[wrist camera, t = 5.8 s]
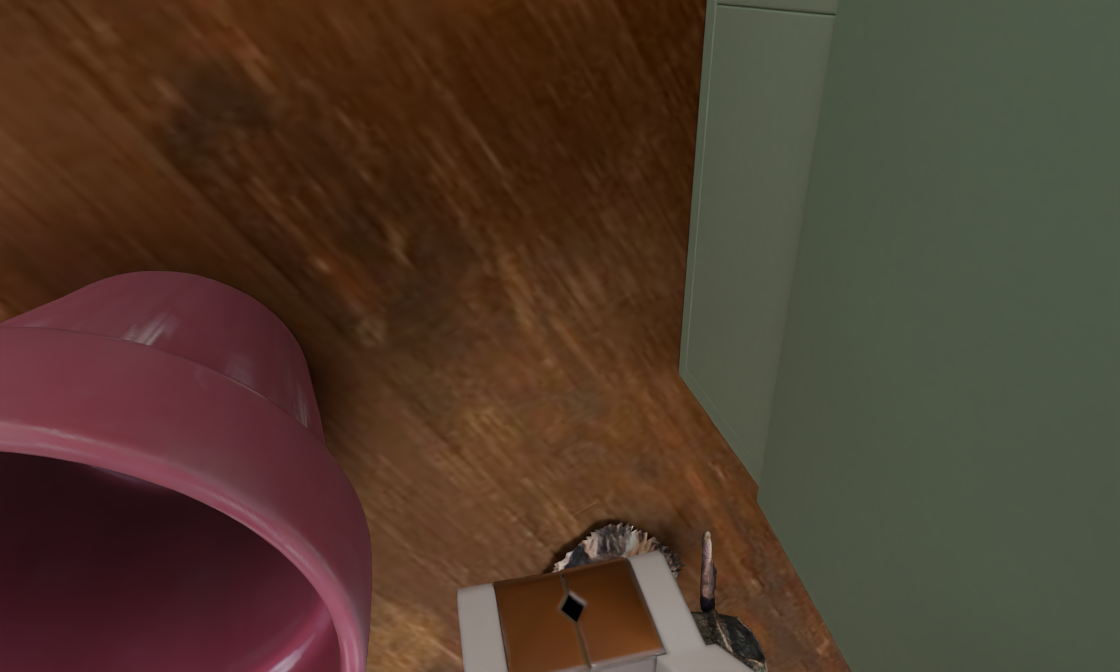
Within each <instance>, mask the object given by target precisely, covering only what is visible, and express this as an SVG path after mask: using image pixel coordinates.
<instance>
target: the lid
mask: <svg viewBox="0 0 1120 672" xmlns="http://www.w3.org/2000/svg"><path fill="white" fill-rule="evenodd" d="M757 503H758V504H759V506H760V508H761V510H762V512H763V513H764V515H765V517H766V519H767V521H768V522H769V524H770V526H771V528H772V530H773V531H774V533H775V535H776V537H777V539H778V540H779V542H780V544H781V546H782V548H783V549H784V551H785V553H786V555H787V556H788V558H789V560H790V562H791V564H792V565H793V567H794V569H795V571H796V573H797V574H798V576H799V578H800V580H801V582H802V583H803V585H804V587H805V589H806V591H807V592H808V594H809V596H810V598H811V600H812V601H813V603H814V605H815V607H816V609H817V610H818V612H819V614H820V616H821V617H822V619H823V621H824V623H825V625H826V626H827V628H828V630H829V632H830V634H831V635H832V637H833V639H834V641H835V643H836V644H837V646H838V648H839V650H840V652H841V653H842V655H843V657H844V659H845V661H846V662H847V664H848V666H849V668H850V670H851V671H852V672H1120V0H838V5H837V11H836V17H835V23H834V29H833V35H832V42H831V48H830V54H829V60H828V66H827V72H826V78H825V85H824V91H823V97H822V103H821V109H820V115H819V121H818V127H817V134H816V140H815V146H814V152H813V158H812V164H811V170H810V176H809V183H808V189H807V195H806V201H805V207H804V213H803V219H802V225H801V232H800V238H799V244H798V250H797V256H796V262H795V268H794V275H793V281H792V287H791V293H790V299H789V305H788V311H787V317H786V324H785V330H784V336H783V342H782V348H781V354H780V360H779V366H778V373H777V379H776V385H775V391H774V397H773V403H772V409H771V415H770V422H769V428H768V434H767V440H766V446H765V452H764V458H763V465H762V471H761V477H760V483H759V489H758V495H757Z"/></svg>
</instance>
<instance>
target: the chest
mask: <svg viewBox="0 0 1120 672" xmlns="http://www.w3.org/2000/svg"><path fill="white" fill-rule="evenodd" d="M837 5H838V0H707V7H706V20H705V33H704V46H703V59H702V73H701V86H700V99H699V112H698V125H697V138H696V151H695V164H694V177H693V190H692V203H691V216H690V229H689V242H688V255H687V269H686V282H685V295H684V308H683V321H682V334H681V347H680V360H679V375H680V376H681V378H682V379H683V381H684V382H685V383H686V385H687V386H688V388H689V389H690V391H691V392H692V393H693V395H694V396H695V398H696V399H697V400H698V402H699V403H700V405H701V406H702V407H703V409H704V410H705V412H706V413H707V414H708V416H709V417H710V419H711V420H712V422H713V423H714V424H715V426H716V427H717V429H718V430H719V431H720V433H721V434H722V436H723V437H724V438H725V440H726V441H727V443H728V444H729V445H730V447H731V448H732V450H733V451H734V452H735V454H736V455H737V457H738V458H739V460H740V461H741V462H742V464H743V465H744V467H745V468H746V469H747V471H748V472H749V474H750V475H751V476H752V478H753V479H754V481H755V482H756V483H757V485H758V486H759V483H760V477H761V471H762V465H763V458H764V452H765V446H766V440H767V434H768V428H769V422H770V415H771V409H772V403H773V397H774V391H775V385H776V379H777V373H778V366H779V360H780V354H781V348H782V342H783V336H784V330H785V324H786V317H787V311H788V305H789V299H790V293H791V287H792V281H793V275H794V268H795V262H796V256H797V250H798V244H799V238H800V232H801V225H802V219H803V213H804V207H805V201H806V195H807V189H808V183H809V176H810V170H811V164H812V158H813V152H814V146H815V140H816V134H817V127H818V121H819V115H820V109H821V103H822V97H823V91H824V85H825V78H826V72H827V66H828V60H829V54H830V48H831V42H832V35H833V29H834V23H835V17H836V11H837Z"/></svg>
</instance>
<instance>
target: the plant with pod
mask: <svg viewBox="0 0 1120 672" xmlns="http://www.w3.org/2000/svg"><path fill="white" fill-rule="evenodd" d="M632 528H633V526H630V527H629V523H628V524H627V525H626V526H624V527H623V524H622V523H620V524H618V525H616V526H615V525H611V524H609V525H607V526H604V528H603V529H601V528H600V530H596V529H595V532H596V533H595V532H591V535H592V537H586V538H587V539H588V540H582V541H583V542H581V543H580V544H578V547H576V548H574V549H573V551H572V552H568V553H566V557H565V559H564V560H562V561H560V562H557V563H556V564H555V566H556V567H554V568H553V569H555V570H554V571H553V572H557V571H560V570H562V569H567V568H571V567H576V566H581V565H586V564H591V563H596V562H600V561H605V560H610V559H615V558H620V557H624V558H626V557H628V556H633V555H638V554H643V553H649V552H654V551H659V552H660V553H662V554H663V555H664V557H665V559H666V561H667V563H668V566H669V568H670V570H671V572H672V574H673V576H674V578H676V577H677V576H679V573H678V571H680V570H682V569H678V567H681V566H685V565H683V564H680V558H677V557H676V556H677V555H678V554H679V553H674V554H673V549H672V550H671V551H670V552H669V549H668V546H662V544H661V543H660V542H658V541H657V540H656V538H655V537H652V538H651V539H649V540H647V532H645V533H642V532H641V530H640V531H638V532H637V529H636V530H635V531H633V532H631V531H632ZM710 535H711V534H710V532H704V535H703V539H702V566H701V585H700V592H701V596H700V605H701V610H702V611H703V612H691V614H692V616H693V619H694V621H695V623H696V625H697V627H698V629H699V631H700V633H701V636H702V638H703V640H704V642H705V644H706V645H711V644H717V645H719V646H720V647H722V648H723V649H724V650H726V651H727V652H728V653H730V654H731V655H733V656H734V657H735V658H737V659H738V660H740V661H741V662H742V663H744V664H745V665H746V666H748V667H749V668H751V669H752V670H753V671H755V672H768V670H767V663H766V658H765V653H764V652H763V651H762V649H761V645H760V643H759V641H758V640H757V638H756V636H755V635H754V634H753V632H752V630H751V629H750V628H749V627H748V626H745V624H744V623H743V622H742V621H741V619H739V618H738V617H732V616H728V615H723V614H718V612H717V611H716V610H715V598H714V590H715V589H716V586H715V583H716V573H717V570H716V568H715V567H714V563H713V557H712V543H711V539H710ZM676 581H677V580H676Z"/></svg>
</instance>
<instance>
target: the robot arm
mask: <svg viewBox="0 0 1120 672" xmlns="http://www.w3.org/2000/svg"><path fill="white" fill-rule="evenodd" d="M493 586H494V587H493ZM457 604H458V614H459V624H460V634H461V644H462V654H463V664H464V672H755V671H753V670H752V669H751V668H749V667H748V666H746V665H745V664H744V663H742V662H741V661H740V660H738V659H737V658H735V657H734V656H733V655H731V654H730V653H728V652H727V651H726V650H724V649H723V648H722V647H720V646H719V645H717V644H711V645H706V644H705V642H704V640H703V638H702V636H701V633H700V631H699V629H698V627H697V625H696V623H695V621H694V619H693V616H692V614H691V612H690V610H689V608H688V606H687V604H686V602H685V599H684V597H683V595H682V593H681V591H680V589H679V587H678V585H677V582H676V580H675V578H674V576H673V574H672V572H671V570H670V568H669V566H668V563H667V561H666V559H665V557H664V555H663V554H662V553H660V552H659V551H654V552H649V553H643V554H638V555H633V556H628V557H626V558H624V557H620V558H615V559H610V560H605V561H600V562H596V563H591V564H586V565H581V566H576V567H571V568H567V569H562V570H560V571H557V572H551V573H545V574H539V575H533V576H527V577H521V578H515V579H509V580H503V581H497V582H494V584H493V583H487V584H481V585H476V586H470V587H464V588H459V589H458V590H457Z"/></svg>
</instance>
